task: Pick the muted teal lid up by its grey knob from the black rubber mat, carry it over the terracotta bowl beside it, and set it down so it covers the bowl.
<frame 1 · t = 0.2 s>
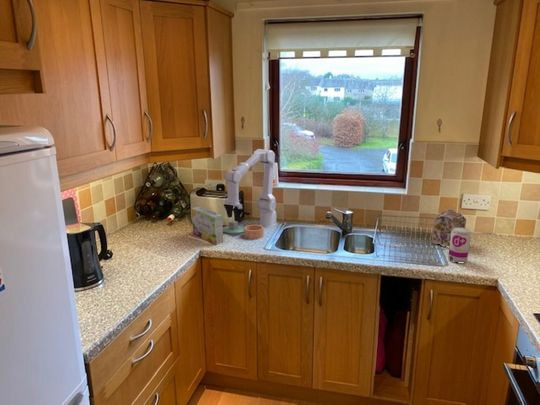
hand: (233, 218, 217), 10 cm above the countertop, tool pointing down, fingers open, 7 cm apart
snack box: (207, 239, 216), on the countertop
lid: (233, 226, 228), on the mat
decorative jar: (447, 244, 213), on the countertop
mat: (233, 230, 229), on the countertop
bowl: (253, 236, 220), on the countertop
supplement can: (457, 261, 192), on the countertop
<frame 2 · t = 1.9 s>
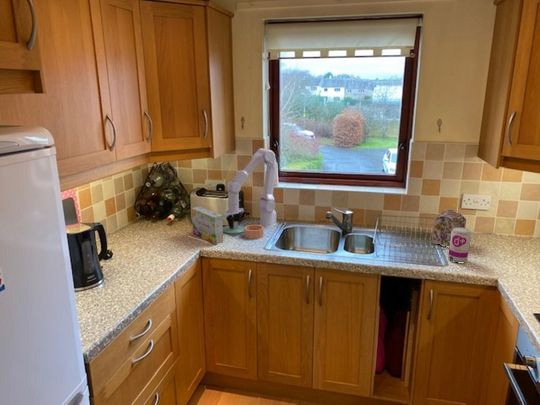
hand: (233, 227, 228), 2 cm above the countertop, tool pointing down, fingers closed on lid, 3 cm apart
lid: (233, 225, 228), on the mat, touching gripper
everything else where it was.
when the fingers open (8 cm above the countertop, at t = 5.1 s): lid stays where it is, resting on bowl.
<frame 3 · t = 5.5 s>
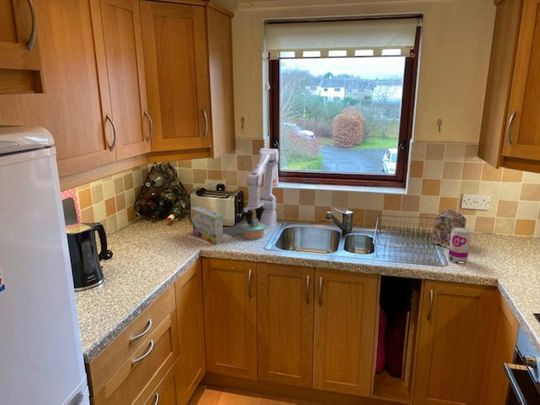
hand: (254, 222, 218), 8 cm above the countertop, tool pointing down, fingers open, 7 cm apart
lid: (253, 223, 219), on the bowl, point 7 cm above the countertop
everything else where it was.
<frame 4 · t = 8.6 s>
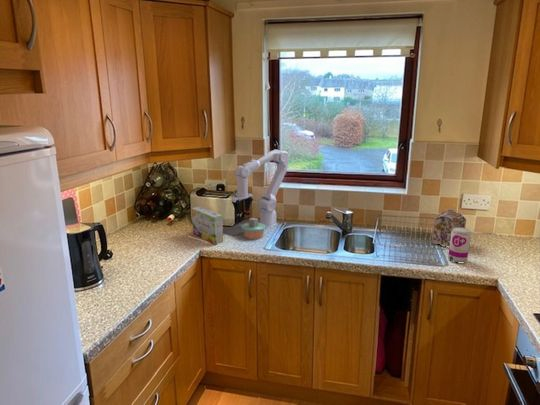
hand: (242, 212, 227), 10 cm above the countertop, tool pointing down, fingers open, 7 cm apart
nothing on the countertop moved.
at the end: lid 0.3 cm off-centre on the bowl, point 7.4 cm above the bowl's base; lid tilted 0°; the gripper is holding nothing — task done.
